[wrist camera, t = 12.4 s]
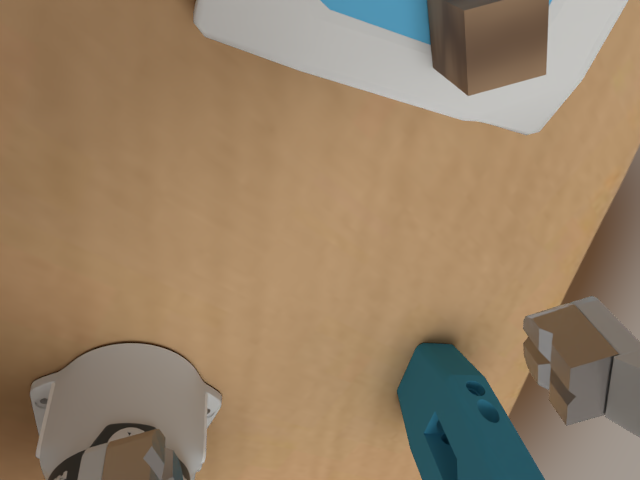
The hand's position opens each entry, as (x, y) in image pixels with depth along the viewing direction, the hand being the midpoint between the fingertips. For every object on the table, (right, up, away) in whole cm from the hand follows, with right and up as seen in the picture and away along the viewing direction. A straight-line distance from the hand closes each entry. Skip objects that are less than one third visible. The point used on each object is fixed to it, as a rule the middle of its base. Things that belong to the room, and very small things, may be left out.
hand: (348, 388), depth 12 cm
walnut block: (+9, +18, +25) cm, 32 cm away
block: (+12, -12, +53) cm, 55 cm away
